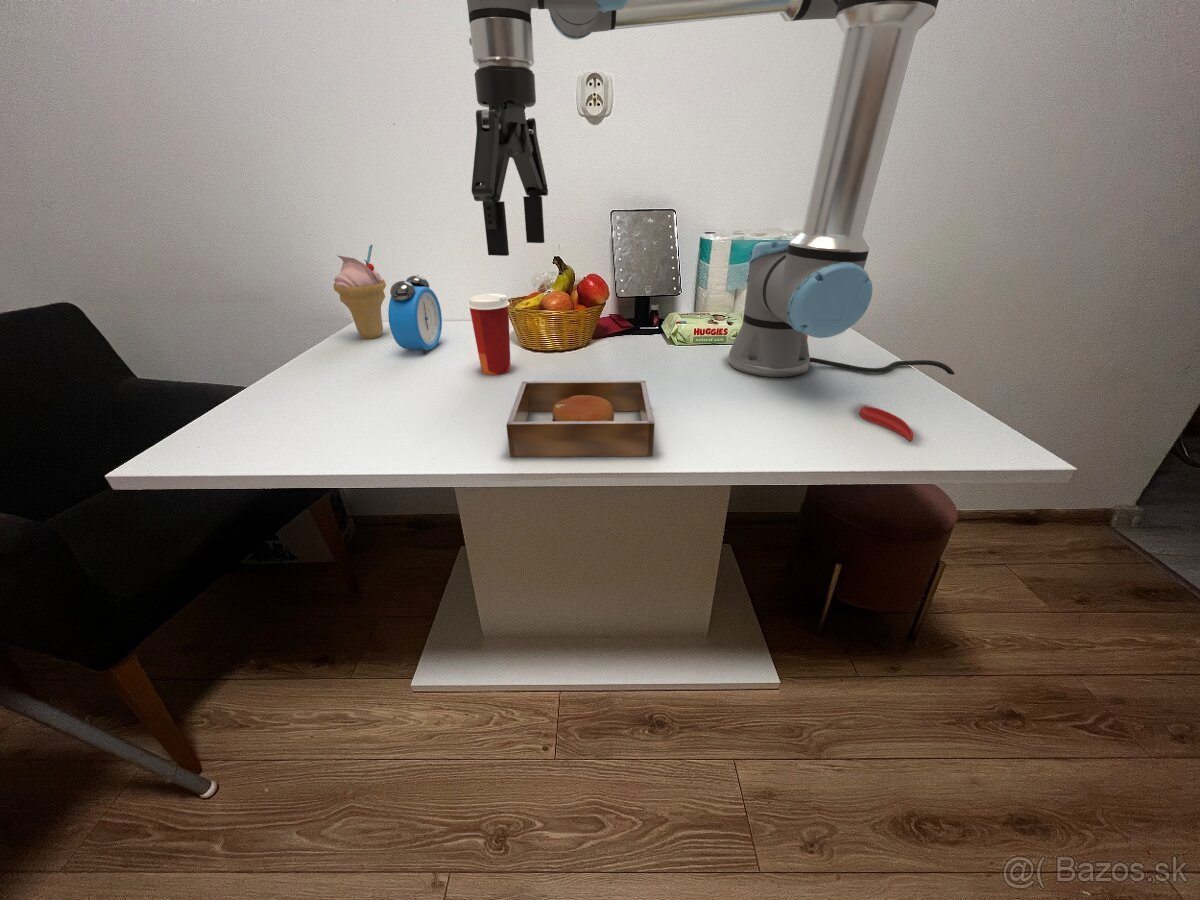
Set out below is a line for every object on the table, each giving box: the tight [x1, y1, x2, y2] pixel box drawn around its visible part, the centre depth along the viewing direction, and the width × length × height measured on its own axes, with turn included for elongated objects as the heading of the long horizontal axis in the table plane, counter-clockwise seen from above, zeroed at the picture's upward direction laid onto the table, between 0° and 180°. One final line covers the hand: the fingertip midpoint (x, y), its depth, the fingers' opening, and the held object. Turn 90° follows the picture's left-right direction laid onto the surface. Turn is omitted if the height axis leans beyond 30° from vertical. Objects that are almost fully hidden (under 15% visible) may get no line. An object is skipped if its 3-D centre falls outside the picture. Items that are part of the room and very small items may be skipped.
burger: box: [551, 395, 615, 421], centre depth 76 cm, size 10×9×5 cm
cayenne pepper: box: [858, 405, 914, 442], centre depth 78 cm, size 12×5×2 cm, turn 0°
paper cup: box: [467, 293, 511, 376], centre depth 97 cm, size 8×8×14 cm
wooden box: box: [506, 380, 655, 458], centre depth 75 cm, size 20×16×5 cm
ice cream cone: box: [333, 244, 387, 340], centre depth 117 cm, size 11×11×20 cm
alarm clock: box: [387, 274, 443, 355], centre depth 109 cm, size 13×6×15 cm, turn 173°
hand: (518, 248), depth 74 cm, fingers open, 13 cm apart
